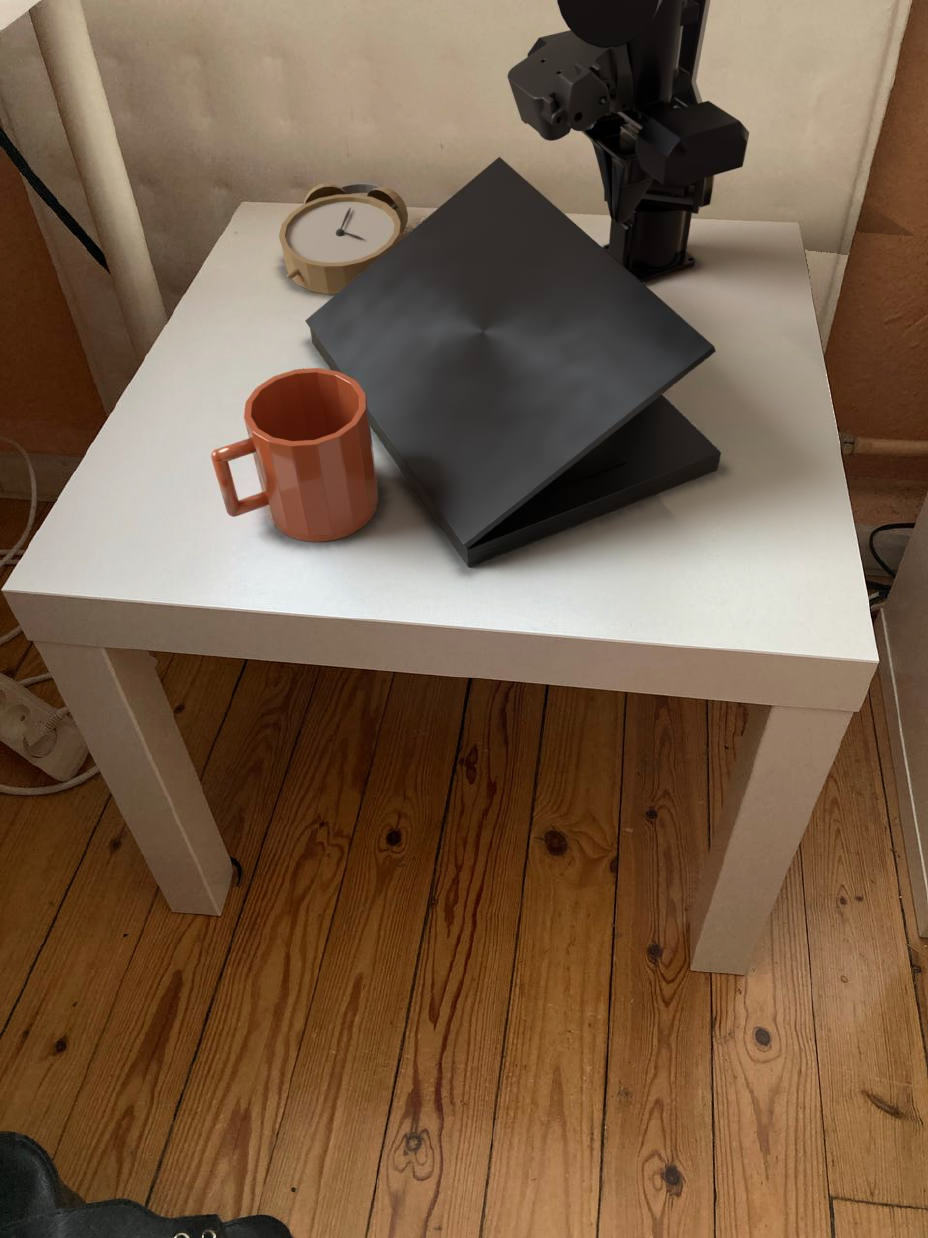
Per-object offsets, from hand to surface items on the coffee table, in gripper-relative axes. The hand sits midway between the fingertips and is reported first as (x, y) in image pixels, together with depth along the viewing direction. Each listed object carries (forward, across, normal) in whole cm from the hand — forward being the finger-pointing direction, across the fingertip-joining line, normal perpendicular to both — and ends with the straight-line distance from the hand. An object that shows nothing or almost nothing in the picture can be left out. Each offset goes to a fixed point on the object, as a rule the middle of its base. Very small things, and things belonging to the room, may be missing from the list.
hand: (619, 219), depth 75 cm
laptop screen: (+6, 0, -11) cm, 13 cm away
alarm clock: (+13, -27, -12) cm, 32 cm away
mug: (+13, +4, -28) cm, 32 cm away
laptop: (+13, 0, -10) cm, 16 cm away
